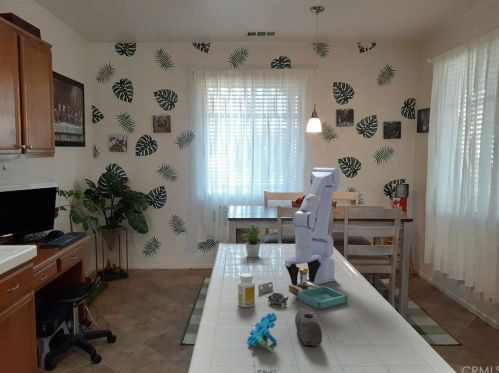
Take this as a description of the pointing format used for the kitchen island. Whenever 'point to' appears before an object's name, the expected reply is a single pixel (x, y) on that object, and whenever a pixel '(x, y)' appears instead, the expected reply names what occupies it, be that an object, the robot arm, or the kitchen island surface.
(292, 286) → the socket
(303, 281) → the pin
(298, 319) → the perforated stone tool
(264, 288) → the bracket
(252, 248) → the house plant
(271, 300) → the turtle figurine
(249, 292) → the supplement bottle
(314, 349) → the kitchen island surface
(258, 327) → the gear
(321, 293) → the tray
